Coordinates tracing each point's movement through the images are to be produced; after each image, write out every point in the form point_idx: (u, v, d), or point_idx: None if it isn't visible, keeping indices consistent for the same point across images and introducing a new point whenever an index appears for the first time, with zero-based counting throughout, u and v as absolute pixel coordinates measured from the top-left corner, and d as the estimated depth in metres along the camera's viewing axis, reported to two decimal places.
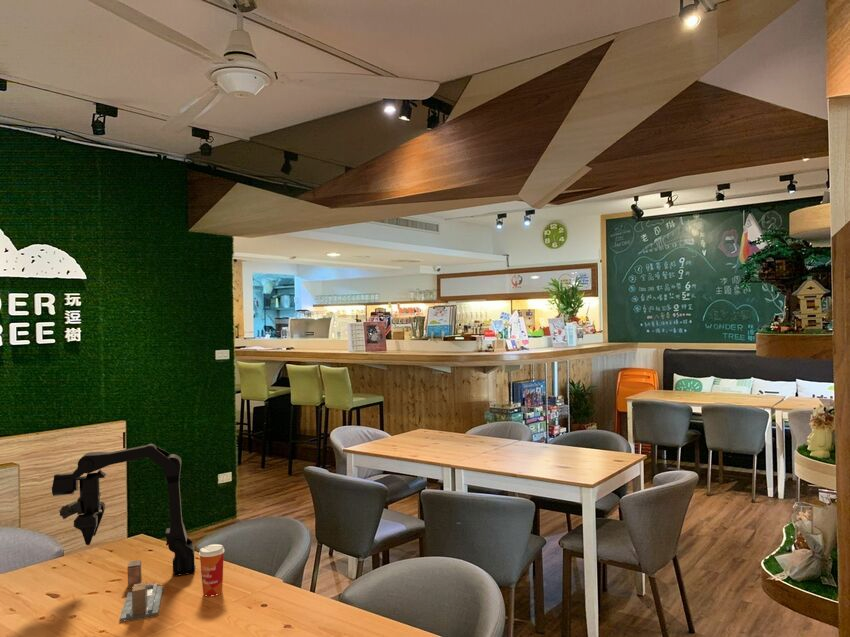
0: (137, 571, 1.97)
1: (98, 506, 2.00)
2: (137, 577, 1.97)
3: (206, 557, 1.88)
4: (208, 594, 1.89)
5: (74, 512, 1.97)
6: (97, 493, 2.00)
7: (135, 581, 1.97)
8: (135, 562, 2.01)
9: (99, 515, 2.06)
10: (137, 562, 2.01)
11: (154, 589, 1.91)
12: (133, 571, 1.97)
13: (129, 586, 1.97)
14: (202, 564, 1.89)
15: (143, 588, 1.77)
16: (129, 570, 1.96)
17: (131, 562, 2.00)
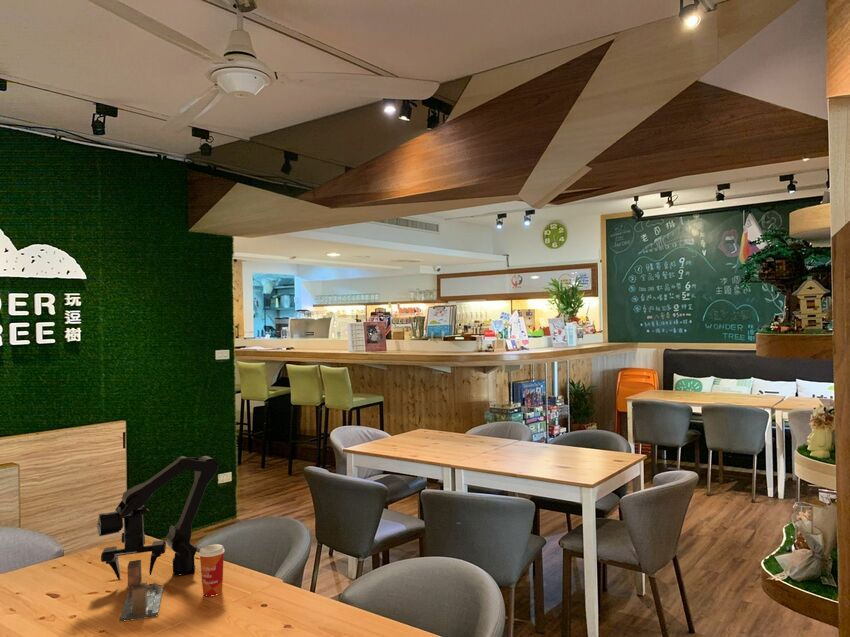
0: (137, 571, 1.97)
1: (129, 546, 1.97)
2: (137, 577, 1.97)
3: (206, 557, 1.88)
4: (208, 594, 1.89)
5: None
6: (128, 533, 1.97)
7: (135, 581, 1.97)
8: (135, 562, 2.01)
9: None
10: (137, 562, 2.01)
11: (154, 589, 1.91)
12: (133, 571, 1.97)
13: (129, 586, 1.97)
14: (202, 564, 1.89)
15: (143, 588, 1.77)
16: (129, 570, 1.96)
17: (131, 562, 2.00)
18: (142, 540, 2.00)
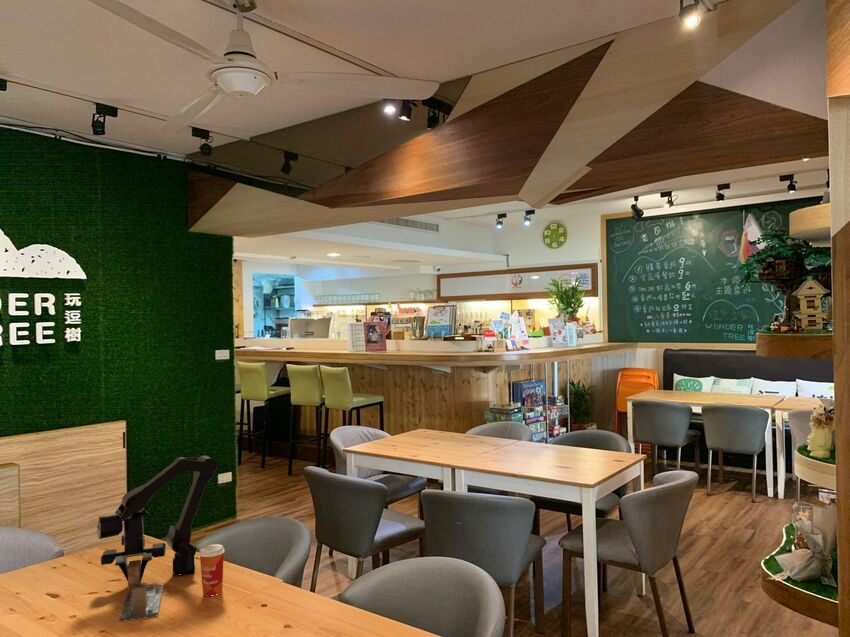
0: (137, 571, 1.97)
1: (129, 549, 1.97)
2: (137, 577, 1.97)
3: (206, 557, 1.88)
4: (208, 594, 1.89)
5: None
6: (128, 535, 1.97)
7: (135, 581, 1.97)
8: (135, 561, 2.01)
9: None
10: (137, 562, 2.01)
11: (154, 589, 1.91)
12: (134, 571, 1.97)
13: (129, 586, 1.97)
14: (202, 564, 1.89)
15: (143, 588, 1.77)
16: (129, 570, 1.96)
17: (131, 562, 2.00)
18: (142, 543, 2.00)
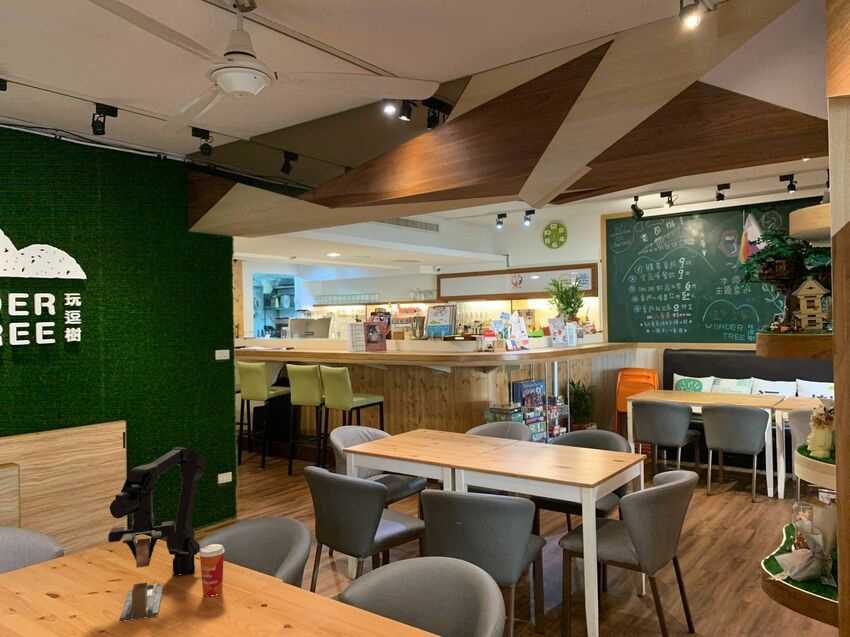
0: (146, 549, 1.88)
1: (138, 526, 1.88)
2: (146, 556, 1.88)
3: (206, 557, 1.88)
4: (208, 594, 1.89)
5: None
6: (136, 512, 1.88)
7: (144, 560, 1.88)
8: (144, 540, 1.92)
9: None
10: (146, 540, 1.92)
11: (154, 589, 1.91)
12: (142, 549, 1.88)
13: (138, 565, 1.88)
14: (202, 564, 1.89)
15: (143, 588, 1.77)
16: (138, 548, 1.88)
17: (140, 540, 1.92)
18: (151, 520, 1.91)
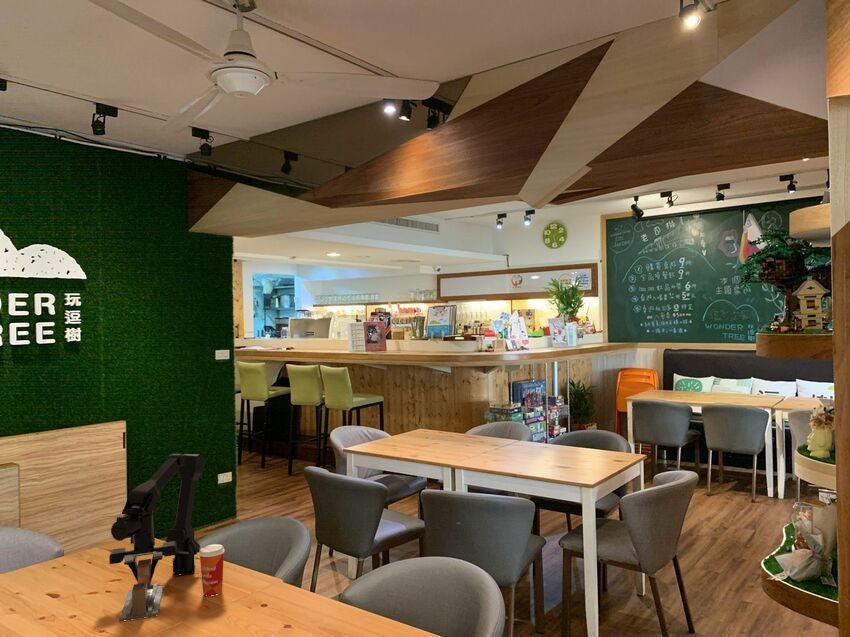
0: (147, 571, 1.88)
1: (139, 547, 1.88)
2: (147, 577, 1.88)
3: (206, 557, 1.88)
4: (208, 594, 1.89)
5: None
6: (137, 533, 1.88)
7: (145, 581, 1.88)
8: (145, 561, 1.92)
9: None
10: (147, 561, 1.92)
11: (154, 589, 1.91)
12: (143, 571, 1.88)
13: None
14: (202, 564, 1.89)
15: (143, 588, 1.77)
16: (139, 570, 1.87)
17: (141, 561, 1.91)
18: (152, 541, 1.91)
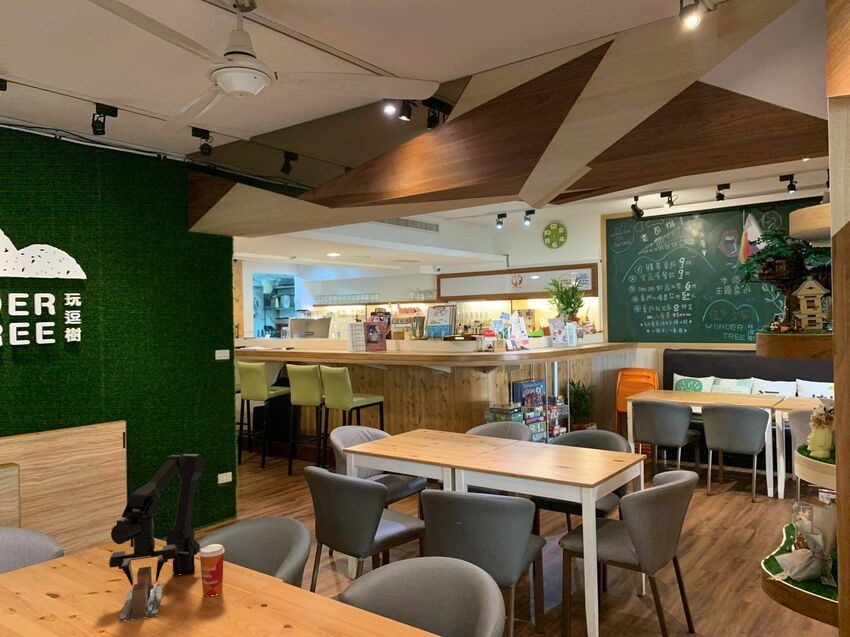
0: (147, 578, 1.88)
1: (139, 551, 1.88)
2: (147, 585, 1.88)
3: (206, 557, 1.88)
4: (208, 594, 1.89)
5: None
6: (137, 537, 1.88)
7: None
8: (145, 568, 1.92)
9: (157, 562, 1.90)
10: (147, 568, 1.92)
11: (154, 589, 1.91)
12: (144, 578, 1.88)
13: None
14: (202, 564, 1.89)
15: (143, 588, 1.77)
16: (139, 577, 1.87)
17: (141, 569, 1.91)
18: (152, 544, 1.91)
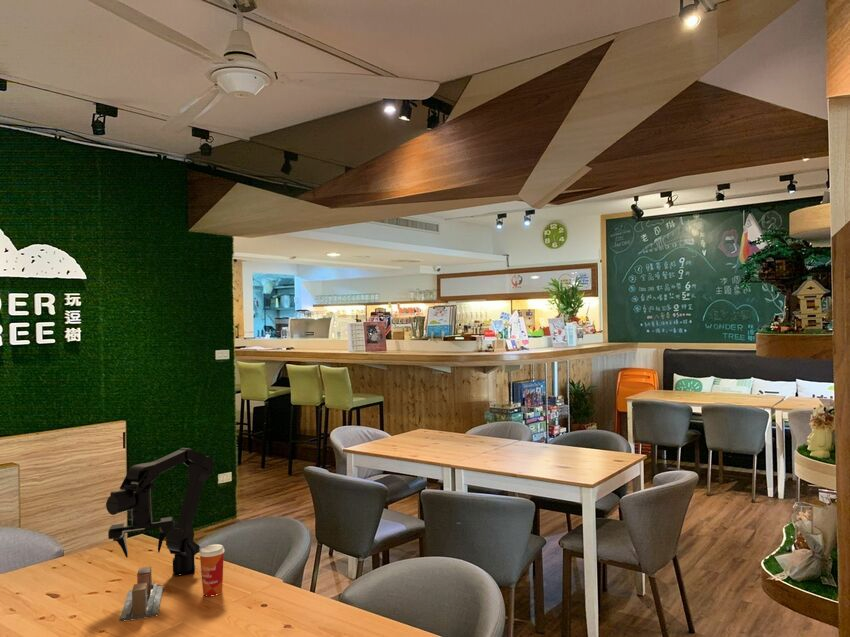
0: (147, 578, 1.88)
1: (137, 523, 1.92)
2: (147, 585, 1.88)
3: (206, 557, 1.88)
4: (208, 594, 1.89)
5: None
6: (136, 509, 1.92)
7: None
8: (145, 568, 1.92)
9: (159, 533, 1.95)
10: (147, 568, 1.92)
11: (154, 589, 1.91)
12: (144, 578, 1.88)
13: None
14: (202, 564, 1.89)
15: (143, 588, 1.77)
16: (139, 577, 1.87)
17: (141, 569, 1.91)
18: (150, 517, 1.95)
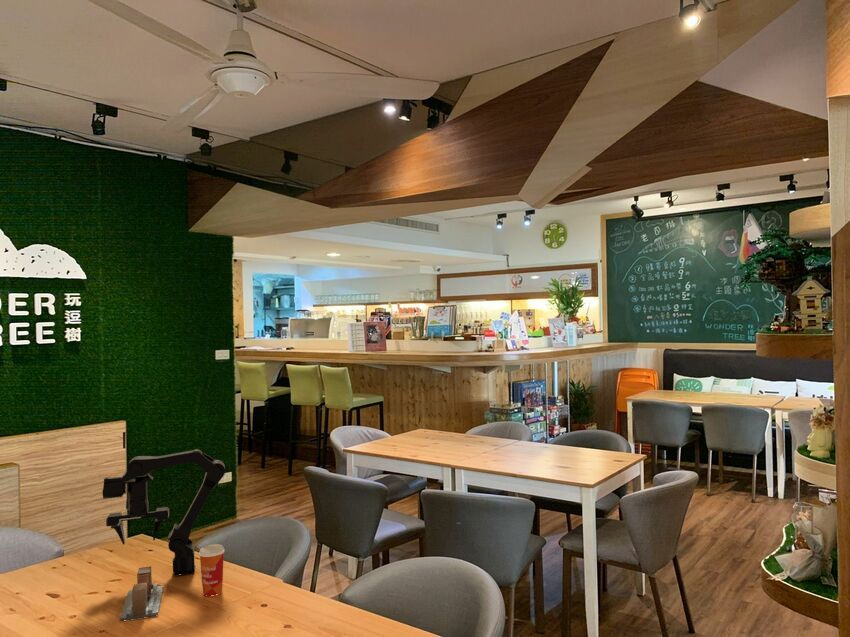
0: (147, 578, 1.88)
1: (134, 511, 2.02)
2: (147, 585, 1.88)
3: (206, 557, 1.88)
4: (208, 594, 1.89)
5: None
6: (132, 498, 2.02)
7: None
8: (145, 568, 1.92)
9: None
10: (147, 568, 1.92)
11: (154, 589, 1.91)
12: (144, 578, 1.88)
13: None
14: (202, 564, 1.89)
15: (143, 588, 1.77)
16: (139, 577, 1.87)
17: (141, 569, 1.91)
18: (146, 506, 2.05)
